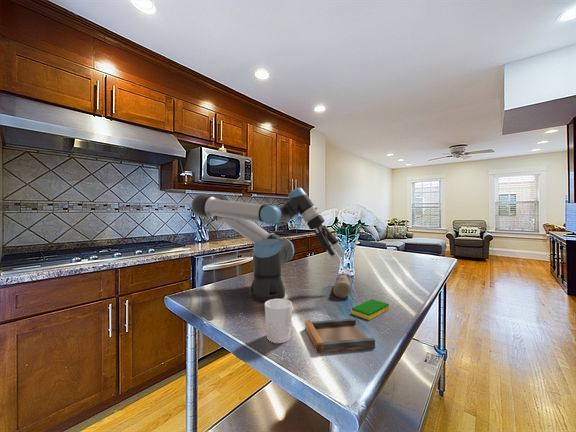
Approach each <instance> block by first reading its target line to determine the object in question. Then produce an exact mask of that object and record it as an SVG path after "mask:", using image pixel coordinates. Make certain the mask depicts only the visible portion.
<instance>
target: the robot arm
mask: <svg viewBox="0 0 576 432" xmlns="http://www.w3.org/2000/svg"><path fill="white" fill-rule="evenodd" d="M287 197H288V201H286V202H285V203H283V204H282V205H271V204H262V203H253V202H243V201H235V200H231V199H229V197H227V196H225V195H223V194H219V193H218V194H213V193H200V194H198V195H196V196H194V198H193V199H192V201H191V210H192V212H193V213H194V215H196V216H198V217H199V218H213V220H215V221H216V222H218V223H220V224H222V223H225V224H226V225H227V226H229V228H231V229H233V230H234V231H236V233H238V234H239V235H241V236H242V237H244V238H245V239H246V240H247V241H249V242H250V243H251V244H253V249H252V250H253V251H252V252H253V279H252V282H251V285H250V289H249V298H250V299H251V298H252V300H253V299H254V301H256V302H258V301H259V302H266V301H268V300H271V299H285V297H286V288H285V285H284V283H283V279H282V265H284V264H287V263H289V262H290V261H291V260H292V259H293V257H294V254H295V246H294V244H293V242H292V241H291V240H289V239H288V238H285V237H281V236H279V235H278V234H276V233H275V232H272V233H271V232H270V233H269V232H268V231H267V230H265V229H264V228H262V227H261V226H259V225H258V224H257V223H255V222H260V223H261V222H262V223H265V224H267V225H268V224H269V225H275V226H278V227H282V226H283V225H285V224H287V223H288V222H289V221H291V220H292V219H294V217H296V216H298V215H300V216H301V218H302V219H303V221H304V222H305V223H306V225H307V227H308V228H309V229H310V230H311V231H313V233H314V234H315V235H316V237H317V239H318V241H319V243H320V246H321V247H322V249H323V251H324V252H325V251H326V252H327V253H328V255H329V256H330V258H331V259H332V261H333V262H334V264H335V265H337V263H339V262H340V261H342V257H344V256H346V252H344V250H343V248H342V246H341V245H340V244H339V239H337V238H336V237H335V236H334V234H333V233H332V232H331V231H330V230H329V229H328V227H327V225H325V224H324V223H325V221H326V220H325V219H324V217H323V215H322V214H320V212H319V210H318V207H317V206H315V204H314V203H313V201H312V200H311V199H310V197H309V195H308V194H307V193H306V192H305V191H304V189H303V188H302V187H297V188H294V189H293V190H291V191H290V193H288V195H287ZM254 221H255V222H254ZM323 224H324V225H323ZM331 245H332V246H331Z"/></svg>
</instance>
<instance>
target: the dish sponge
mask: <svg viewBox="0 0 576 432" xmlns="http://www.w3.org/2000/svg"><path fill="white" fill-rule="evenodd" d="M389 310H390V304H389V303H387V302H382V301H380V300H376V299H374V298H373V299H372V298H371V299H369V300H367V301H365V302H361V303H360V304H358V305H356V306H353V307H352V308H351V315H354V316H357V317H359V318H362V319H365V320H368V321H371V320H372V319H374V318H376V317H378V316H381V314H383V313H385V312H387V311H389Z"/></svg>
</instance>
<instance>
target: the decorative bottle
mask: <svg viewBox="0 0 576 432" xmlns="http://www.w3.org/2000/svg"><path fill="white" fill-rule="evenodd" d="M353 281H354V280H353V278H352V276H351V275H350V274H349V273H347V272H346V273H345V272H343V273H340V274H338V276H337V277H336V280H335V283H334V285H333V287H332V292H333V294H334V295H335V296H336V297H337V298H339V299H340V298H341V299H344V298H347V297H349V295H350V294H351V291H352V288H351V287H352V285H353V283H354V282H353Z"/></svg>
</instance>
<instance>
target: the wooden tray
mask: <svg viewBox="0 0 576 432" xmlns="http://www.w3.org/2000/svg"><path fill="white" fill-rule="evenodd" d="M356 321H357V320H356V318H354V317H353V318H341V319H329V320H317V321H316V320H315V321H312V320H311V319H310V320H309V319H306V320H305V322H304V327H305V328H304V329H305V331H306V333H307V335H308V338H309V340H310V342H311V344H312V345H313V348H314V349H316V350H315V351H317V352H316V353H317V354H323V352H324V353H330V352H329V351H334V352H342V351H341V350H345V351H352V350H363V349H373V348H376V338H375V339H374V337H368V336H367V335H366V334H365V333H364V332H363V331H362V330H361V329H360V328H359V326H357V325H356ZM321 352H322V353H321Z"/></svg>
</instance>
